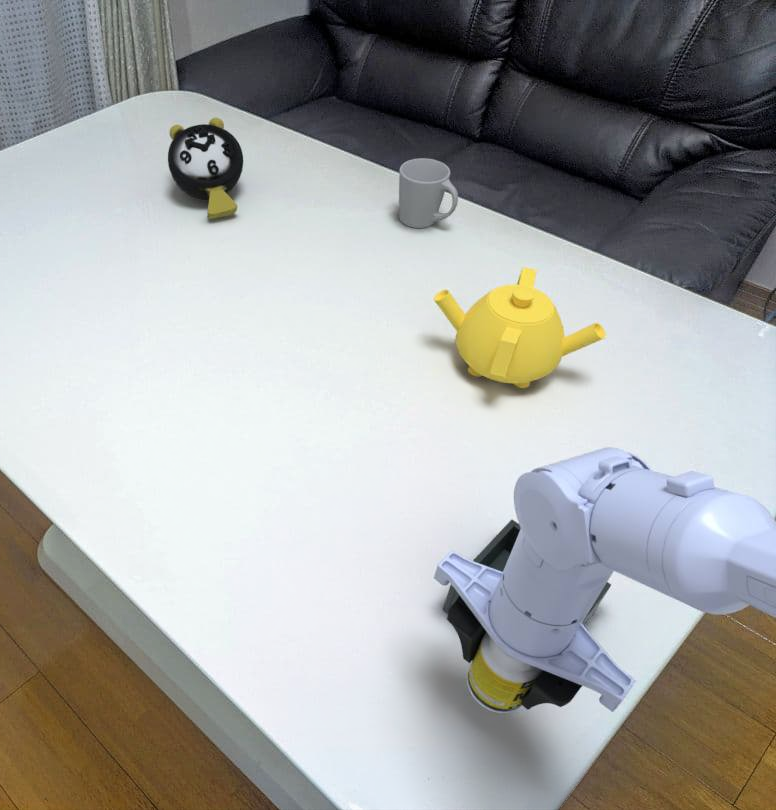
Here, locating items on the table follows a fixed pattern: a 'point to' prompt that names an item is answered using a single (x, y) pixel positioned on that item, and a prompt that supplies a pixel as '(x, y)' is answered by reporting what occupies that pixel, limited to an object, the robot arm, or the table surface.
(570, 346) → the teapot
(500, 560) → the storage tray
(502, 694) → the supplement bottle
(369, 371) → the table surface
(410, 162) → the cup
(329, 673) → the table surface
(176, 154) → the alarm clock
